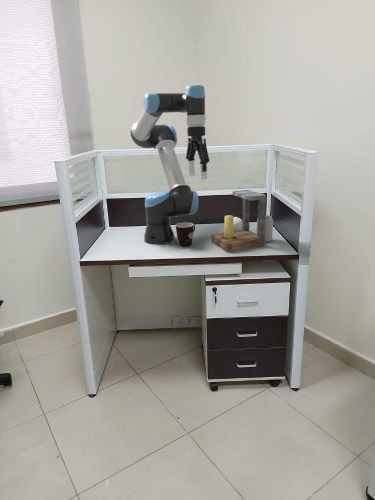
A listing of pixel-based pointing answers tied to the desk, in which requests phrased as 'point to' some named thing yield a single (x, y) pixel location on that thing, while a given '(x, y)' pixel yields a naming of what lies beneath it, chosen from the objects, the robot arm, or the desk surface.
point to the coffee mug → (185, 233)
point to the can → (268, 228)
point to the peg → (228, 227)
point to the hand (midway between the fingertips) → (197, 177)
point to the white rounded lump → (237, 224)
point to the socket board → (237, 241)
